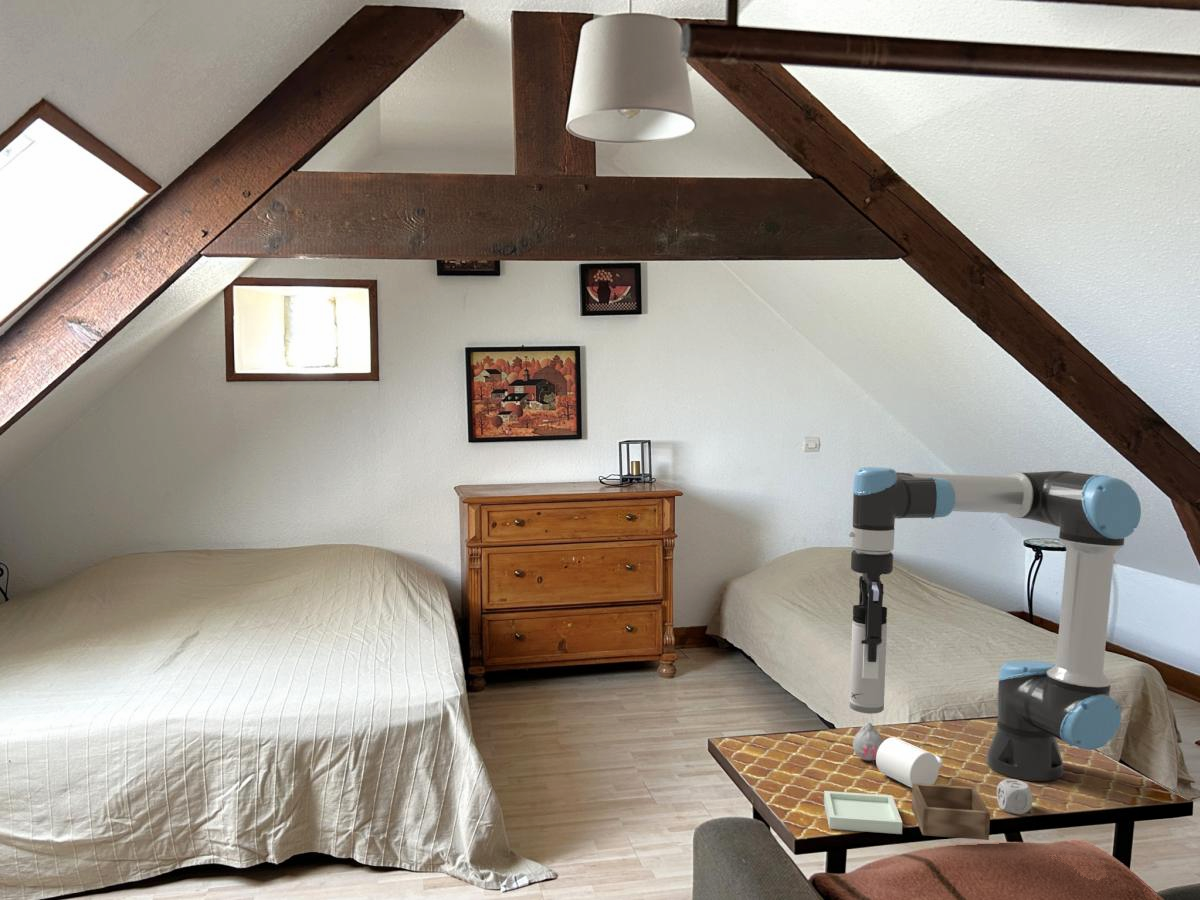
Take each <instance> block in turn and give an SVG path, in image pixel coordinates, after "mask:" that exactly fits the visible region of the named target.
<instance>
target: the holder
mask: <svg viewBox="0 0 1200 900" xmlns="http://www.w3.org/2000/svg"><path fill="white" fill-rule="evenodd" d="M911 810H912V814H914V815H913V816H914V817H915V819H916V822H917V824H918V825H917V826H918V827H919V830H920V832H921V835H922V836H929V837H945V838H954V839H955V838H957V839H970V840H971V839H972V840H984V841H985V840H986V841H989V840H990V825H991V823H990V821H991V812H990V811H989V809H988V807H987V806H986V804H985V802H984V800H983V799H982V797H981V795H980V794H979V792H978V791H977V788H976V787H975V786H962V785H961V786H960V785H946V784H945V785H944V784H933V785H932V784H917V783H913V784H912V788H911Z"/></svg>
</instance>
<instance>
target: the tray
mask: <svg viewBox="0 0 1200 900" xmlns="http://www.w3.org/2000/svg"><path fill="white" fill-rule="evenodd" d="M823 804H824V805H823V806H824V810H825V815H826V819H827V823H828V829H829V830H839V831H840V830H842V831H852V832H853V831H854V832H868V833H880V834H882V833H883V834H895V835H902V834H903V820H902V818H901V815H900V812H899V810H898V807H897V804H896V802H895V800H894V795H888V794H876V793H861V792H859V793H858V792H849V791H848V792H847V791H846V792H844V791H831V790H824V791H823Z"/></svg>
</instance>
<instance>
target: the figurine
mask: <svg viewBox="0 0 1200 900" xmlns="http://www.w3.org/2000/svg"><path fill="white" fill-rule="evenodd" d="M883 742H884V741H883V738H882V736H881V734H880V733H879V732H878V730H877V729H876V728H875V726H874V725H873V724H872V723H871V722H866V723H865V724H863V725H862V727H861V728H860V729H859V730H858V731H857V733H856V734H855V736H854V738H853V740H852V748H853V751H854V753H855V754H856V756H857V757H858V758H859V759H861V760H864V761H867V762H870V761H871V762H872V761H876V755H877V751H878V749H879V747H880V745H881V744H882V743H883Z"/></svg>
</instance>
